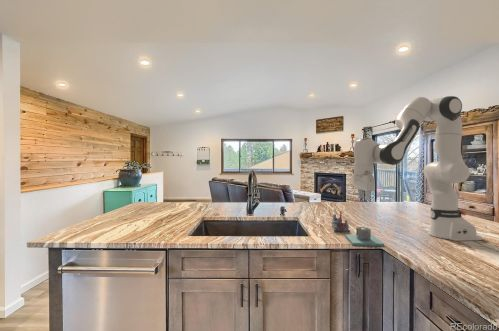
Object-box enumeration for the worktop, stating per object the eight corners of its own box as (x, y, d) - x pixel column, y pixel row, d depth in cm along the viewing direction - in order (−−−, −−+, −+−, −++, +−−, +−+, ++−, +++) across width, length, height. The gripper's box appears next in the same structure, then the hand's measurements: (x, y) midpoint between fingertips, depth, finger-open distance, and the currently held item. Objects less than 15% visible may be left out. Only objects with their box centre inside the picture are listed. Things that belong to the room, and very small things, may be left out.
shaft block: (373, 237, 134) (372, 225, 134) (383, 246, 120) (383, 233, 120) (345, 236, 136) (345, 225, 136) (352, 245, 122) (352, 232, 122)
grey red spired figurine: (353, 229, 142) (339, 211, 144) (336, 239, 145) (323, 221, 147) (353, 224, 152) (340, 207, 155) (337, 234, 155) (324, 217, 158)
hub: (367, 237, 131) (367, 227, 131) (371, 240, 125) (371, 230, 125) (355, 236, 131) (355, 227, 131) (358, 240, 125) (358, 230, 125)
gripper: (378, 171, 117) (378, 201, 118) (363, 169, 138) (363, 195, 138) (364, 171, 118) (364, 201, 118) (351, 170, 138) (351, 195, 139)
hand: (364, 198), depth 128 cm, fingers open, 8 cm apart
